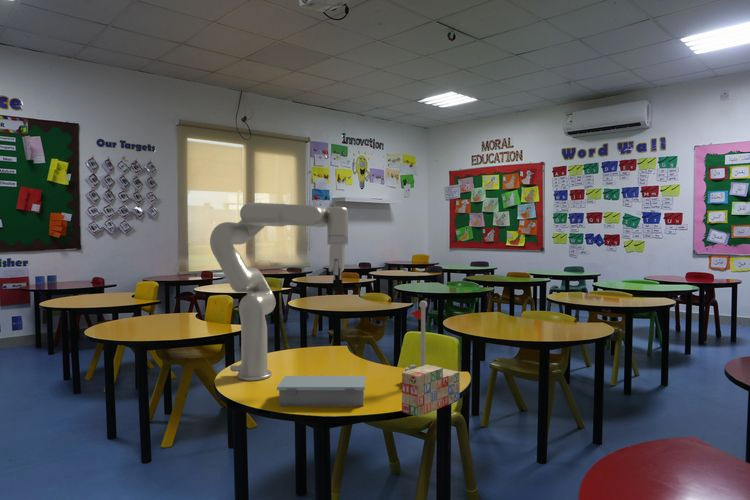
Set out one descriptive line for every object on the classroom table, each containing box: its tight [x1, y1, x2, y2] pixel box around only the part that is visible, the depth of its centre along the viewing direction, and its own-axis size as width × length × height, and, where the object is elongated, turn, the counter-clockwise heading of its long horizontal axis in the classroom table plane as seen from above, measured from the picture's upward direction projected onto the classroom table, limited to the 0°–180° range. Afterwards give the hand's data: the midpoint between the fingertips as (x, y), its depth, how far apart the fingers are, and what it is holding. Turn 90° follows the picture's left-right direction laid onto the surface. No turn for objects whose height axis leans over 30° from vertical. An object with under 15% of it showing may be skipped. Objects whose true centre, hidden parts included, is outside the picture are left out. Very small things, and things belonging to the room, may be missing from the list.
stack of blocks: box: [401, 364, 461, 418], centre depth 148 cm, size 21×6×12 cm, turn 135°
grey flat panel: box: [276, 375, 367, 394], centre depth 153 cm, size 27×13×2 cm, turn 90°
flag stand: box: [404, 300, 438, 372], centre depth 171 cm, size 13×13×30 cm
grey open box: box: [278, 390, 365, 407], centre depth 153 cm, size 26×12×5 cm, turn 90°
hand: (337, 290), depth 174 cm, fingers closed
